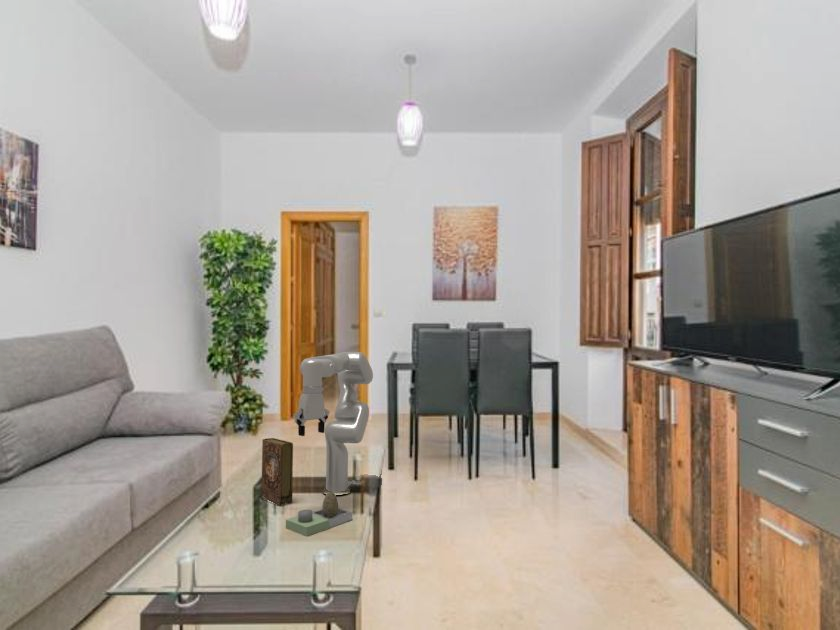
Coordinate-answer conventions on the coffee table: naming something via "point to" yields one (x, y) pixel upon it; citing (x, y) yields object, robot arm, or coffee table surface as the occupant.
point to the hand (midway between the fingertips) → (311, 434)
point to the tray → (336, 517)
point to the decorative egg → (330, 505)
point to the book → (277, 470)
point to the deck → (307, 523)
